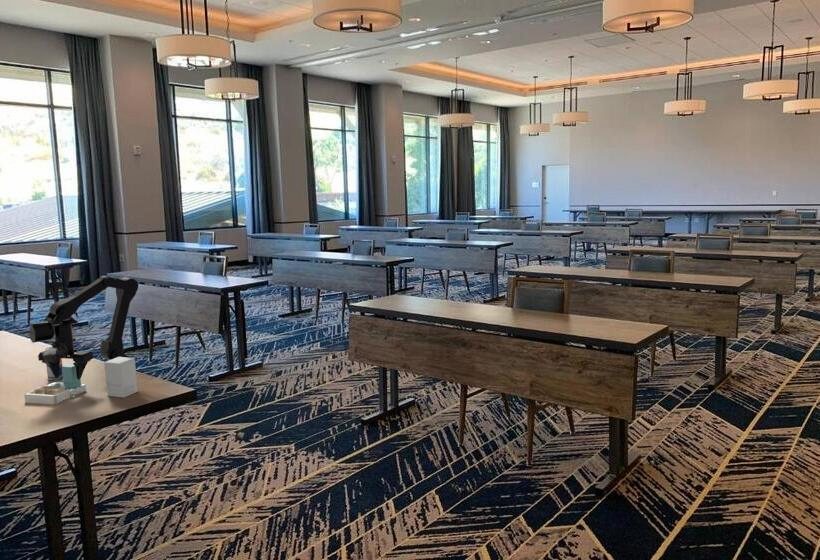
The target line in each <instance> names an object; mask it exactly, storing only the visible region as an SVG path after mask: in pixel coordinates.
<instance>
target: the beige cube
mask: <svg viewBox="0 0 820 560" xmlns="http://www.w3.org/2000/svg"><path fill="white" fill-rule="evenodd" d="M63 391H65V387H58V386H55V387H53V388H50V389H48V390H47V395H57V394H59V393H61V392H63Z"/></svg>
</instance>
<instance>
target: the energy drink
mask: <svg viewBox="0 0 820 560" xmlns="http://www.w3.org/2000/svg"><path fill="white" fill-rule="evenodd" d="M51 347H52V346H49V347H46V348H45V349H44V351H46V350H48V349H49V348H51ZM62 366H63V359H60V367H59V378H55V376H54V374H53V373H52V371H51V369H50V367H49V366H48V365H47V364H46V374H47V380H49V381H56V380H55V379H57V380H61V379H63V378H62V377H63V375H62ZM60 378H61V379H60Z"/></svg>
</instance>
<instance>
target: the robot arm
mask: <svg viewBox="0 0 820 560" xmlns="http://www.w3.org/2000/svg"><path fill="white" fill-rule="evenodd" d="M108 288H113V289H115V295H116V303H115V308H114V311H113V312H114V313H113V316H112V321H111V325H110V330H109V334H108V336H107V338H106V339H101V342H100V343H101V344H100V348H99V351H100V356H101V357H102V358H104V360H106V361H109V360H112V359H114V358H117V357H127V358H130V357H129V356H128V355H126V354H125V353H124V341H123V335H124V331H125V327H126V324H127V323H126V322H127V318H128V313H129V310H130V304H131V301H132V300H133V299H134V298H135V297H136V294H137V292H138V289H139V282H138V281H137V280H136V279H135V278H131V277H125V276H124V277H120V278H116V277H111V276H109V275H108V276H107V275H101V276H100V277H99V278H97V279H95V280H94V281H93V282H91V283H90V284H89V285H87V286H85V287H83V288H82V289H81V290H79V291H77V292H76V293H75V294H73V295H72V296H71V295H70V296H69V297H66V298H63V299H61V300H59V301H56V302H54V303H53V304H51V305H50V308H49V312H48V314H47V315H46V316H45V319H44V320H43V321H41V322H31V323H30V327H29V331H28V334H29V339H30V342H31V343H33V344H34V343H39V342H45V341H50V340H52V339H53V338H54V340H53V341H52V342H51V346H50V347H51V348H49V347H48V348H49V349H48V350H46V351H45V350H44V351H41V352H40V351H39V353H38V355H37V357H38V358H37V359H38V361H39V362H40V361H41V363H43V364H47V365H48V366H49V367H50V369H51V371H52V373H53V374H54V376H55V378H59V367H60V359H62V360H63V359H69V360H72V361H73V362H72V364H74V365H75V367H76V374H77V379H78V380H79V379H81V378H82V377H83V374H84V371H85V368H86V366H87V365H88V363H89V362H91V360H93V359H94V353H93V352H92V351H90V350H89V351H87V350H86V351H85V350H82V351H79V352H77V351H78V349H77V348H75V345H74V343H75V342H76V341H77V339H76V338H75V337H74V334H73V327H72V326H73V325H74V324H78V323H79V321H77V320H76V319H74V317H73V315H74V314H75V313H76V312H77V311H78V310H79V309H80V307H81V306H83V304H85V303H87V302H88V301H90V300H92V298H94V297H95V296H97V295H98V294H101V292H103V291H104V290H106V289H108ZM106 361H105V362H106ZM81 380H82V379H81Z"/></svg>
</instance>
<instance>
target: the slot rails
mask: <svg viewBox="0 0 820 560" xmlns="http://www.w3.org/2000/svg"><path fill="white" fill-rule="evenodd" d="M54 383H56V382H52V383H49V384H48V385H46V386H50V385H52V384H54ZM86 386H87V385H86V384H85V383H81V385H80V386H77V387H75V388H73V389H71V390H69V394H70V397H72V398H74V397H77V396H79V395H81V394H82V392H83V393H84V391H85V392H86V391H87V388H86ZM80 393H81V394H80ZM73 396H74V397H73Z"/></svg>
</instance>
